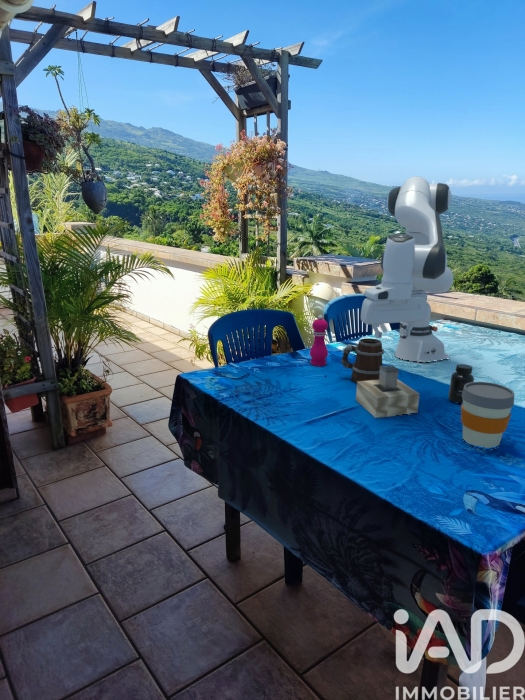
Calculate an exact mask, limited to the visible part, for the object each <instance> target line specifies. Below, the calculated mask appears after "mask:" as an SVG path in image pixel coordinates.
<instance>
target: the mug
mask: <svg viewBox="0 0 525 700" xmlns="http://www.w3.org/2000/svg"><path fill="white" fill-rule="evenodd" d="M357 344H358V345H355V346H354V345H353V344H348V345H347V346H345V347H344V349H343V353H342V359H340V362H341V365H342V366H343V367H344V368H345V369H346V370H348V369H351V371H352V372H351V375H350V376H351V377H350V380H351V381H352V382H353V383H355V384H356V385H357V381H368V380H379V376H380V366H383V355H384V354H385V349H384V348H383V343H382V340H379V339H378V338H366V337H365V338H360V339H359V341H358V343H357ZM353 352H354V354H355V355H356V356H355V361H354V362H353V363H352V362H350V361H349V358H348V357H349V354H350V353H353Z"/></svg>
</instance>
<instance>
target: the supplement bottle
mask: <svg viewBox="0 0 525 700" xmlns="http://www.w3.org/2000/svg"><path fill="white" fill-rule="evenodd" d="M472 373H473V366H472V365H469V364H466V363H459V364H456V365H455V371H454V372H453V373H452V374H451V377H450V383H449V389H448V396H447V397H448V398H449V399H450V400H451V401H454V402H458V403H463V398H462V392H463V389H464V385H465V384H467V383H470V382H475V377H474V375H473V374H472ZM449 399H448V400H449ZM450 400H449V401H450ZM451 401H450V402H451ZM454 402H453V403H454Z"/></svg>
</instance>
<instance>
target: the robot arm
mask: <svg viewBox="0 0 525 700" xmlns="http://www.w3.org/2000/svg"><path fill="white" fill-rule="evenodd" d="M452 198H453V197H452V190H451V189H450V186H449V185H448V184H447V183H441V182H438V183H429V181H428V180H427V179H426V178H424V177H422V176H412V177H411V176H410V177H409V178H408V179H406V180H405V181H404V182H403V184H402V185H401V186H397V187H393V188H392V189H391V190H390V191H389V192H388V196H387V199H386V206H387V207H386V208H387V209H388V213H389V214H390V215H391V216H392V217H393V216H394V217H395V220H396V221H397V223H398V224H399V225H400V226H401V227H403V228H404V229H405V233H396V234H392V235H389V236H388V237H387V239H386V243H385V247H384V250H383V251H381V257H380V258H381V261H380V269H381V270H382V271H383V275H382V277H381V282H380V284H379V283H378V284H377V285H375V286H373V287H370V288H366V290H365V292H364V296H365V297H366V298H364V300H363V301H362V306H361V311H360V320H361V322H362V323H364V324H365V325H371V327H372V329H373V331H374V337H375V339H381V338H382V337H383V332H382V331H381V330H379V328H380V325H381V324H395V323H396V324H397V323H400V325H399V337H398V338H399V339H398V343H397V347H396V349H395V352H394V354H395V355H394V357H396V358H397V359H399V358H400V359H399V360H402V359H403V360H402V361H406V360H409V361H408V362H413V361H417V362H416V363H419V362H428V361H434V360H441V359H447V358H450V359H451V357H450V355H449V354H448V353H446V352H445V351H446V349H445V344H444V343H443V342H442V340H441V339H439V338H438V337H437V336H436V335H434V334H433V332H434V333H436V332H438V331H439V330H438V329H439V328H438V326H435V325H433V326H432V325H431V323H430V322H431V313H432V308H431V305H430V304H429V302H428V294H427V293H429V294H441V293H446V292H447V291H449V290H450V289H451V288H452V286H453V283H454V273H453V272H452V270H451V269H450V268H449V267H448V266H447V265H448V256H447V252H446V249H445V244H444V243H445V242H444V237H443V236H444V235H443V228H442V222H441V217H440V215H441V214H444V213H446V212H447V211H448V210H449V209H450V208H449V207H450V206H451V203H452V200H453V199H452Z"/></svg>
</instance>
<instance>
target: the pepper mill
mask: <svg viewBox="0 0 525 700" xmlns="http://www.w3.org/2000/svg"><path fill="white" fill-rule="evenodd" d="M311 325H312V326H311V327H312V329H313V336H314V339H313V343H312V345H311V348H310V350H309V356H310V357H311V359H310V365H312V366H314V367H324V366H326V365H327V359H326V358H327V357H328V355H329V352H328V348H327V345H326V343H325V337H326V335H327V329H328V328H329V327H328V326H329V324H328V321H326V320H325V318H323V315H322V314H319V315H318V316H317V319H315V320H313V322H312V324H311Z"/></svg>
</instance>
